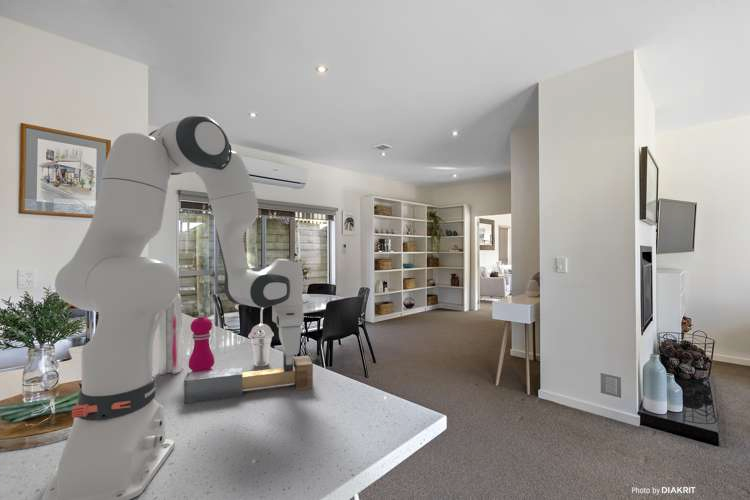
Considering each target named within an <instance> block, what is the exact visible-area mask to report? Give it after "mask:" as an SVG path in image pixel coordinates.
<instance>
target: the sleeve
mask: <svg viewBox="0 0 750 500" xmlns="http://www.w3.org/2000/svg"><path fill="white" fill-rule="evenodd" d="M242 372H243V366H239V367H229V368H220V369H213V370H209V371H200V372H192V371H191V372H187V374H186V376H185V378H184V381H183V404H184V405H186V404H194V403H195V404H196V403H200V402H208V401H218V400H224V399H232V398H240V397H243V390H242Z"/></svg>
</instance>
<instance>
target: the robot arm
mask: <svg viewBox="0 0 750 500" xmlns="http://www.w3.org/2000/svg"><path fill="white" fill-rule="evenodd" d="M185 173H195V174H196V175H197V176H198V177H199V178H200V179H201V180H202V182H203V184H204V186H205V190H206V193H207V198H208V199H209V205H210V206H211V207H210V208H211V211H212V214H213V217H214V222H215V229H216V237H217V242H218V247H219V251H220V255H221V260H222V263H223V264H222V265H223V269H224V285H223V286H224V287H223V289H224V293H225V296H226V298H227V299H228V300H229V301H230V303H233V304H235V305H237V306H239V305H240V306H249V307H255V308H259V309H261V308H264V309H266V308H271V307H272V308H271V310H272V311H271V317H272V319H271V320H272V322H273V323H275V324H276V327H277V328H278V337H279V341H280V343H281V346H282V351H283V350H284V353H285V355H286V357H285V360H286V361H285V362H286V365H291V364H292V358H293V357H294V356H296V355H298V354H299V353H300V345H301V333H302V332H301V331H302V328H301V327H302V326H304V299H303V292H304V273H303V267H302V264H301V263H300V262H299V261H298V260H295V259H291V258H276V259H274V261H273V262H272V263H271V264H269V265H268V266H267V267H265V268H263V269H260V270H259V271H254V270H253V269H252V268H251V267H250V266H249V263H248V259H247V258H248V257H247V255H246V250H245V249H246V248H245V246H244V245H245V244H244V236H245V233H246V231H247V230H248V229H249V228H250V227H251V226H252V225H253V224H254V223H255V221H256V220H257V218H258V216H259V203H258V198H257V195H256V191H255V188H254V184H253V182H252V179H251V177H250V174H249V172H248V169H247V167H246V165H245V163H244V161H243V158H242V157H241V156H240V154H238V153H237V152H236V151H233V150H232V145H231V144H230V141H229V139H228V136H227V134H226V132H225V131H224V129H223V128H222V126H221V125H220V124H219V123H218V122H217V121H215V119H212V118H211V117H209V116H204V115H190V116H186V117H185V118H182V119H179V120H175V121H171V122H168V123H166V124H164V125H162V126H161V127H159V128H158V129H155V130H153V131H151V132H150V133H149V134H148V135H147V134H144V133H141V132H139V133H138V132H127V133H123V134H121V135H119V136H117V138H115V140H114V141H113V143H112V146H111V148H110V150H109V152H108V155H107V157H106V160H105V163H104V166H103V170H102V175H101V178H100V183H99V188H98V191H97V197H96V203H95V205H94V206H95V207H94V212H93V216H92V218H91V222H90V224H89V227H88V229H87V231H86V233H85V235H84V237H83V239H82V241H81V242H80V245H79V246H78V248H77V250H76V252H75V253H74V255H73V256H72V258H71V259H70V261H68V262H67V263H66V264H65V265H63V267H61V269H60V270H59V271H58V273H57V274H56V277H55V281H54V287H55V291H56V294H57V295H58V297H59V298H61V300H62V301H64V302H65V303H67V304H69V305H70V306H73V307H75V308H78V309H79V310H82V311H88V312H98V313H97V314H98V319H97V324H96V327H95V330H94V333H93V335H92V337H91V339H90V340H89V341H88V342H87V343H85V344H84V346H83V347H82V349H81V353H80V354H81V355H80V358H81V359H80V361H81V368H80V369H81V389H80V390H79V392H78V396H77V397H78V399H77V401H76V404H75V405H74V406H73V407H72V410H71V417H72V419H73V423H72V426H71V428H70V432H69V434H68V436H67V440H66V442H65V445H64V448H63V451H62V454H61V456H60V459H59V461H58V463H57V465H56V468H55V470H54V471H53V474H52V476H51V478H50V480H49V483H48V484H47V486H46V489H45V491H44V492H43V495H42V497H41V499H40V500H132V499H134V498H135V497H138V496H140V495H141V494H142V493H143V491H144V490H145V489H146V487H147V486H148V485H149V483H150V482H151V480H152V479H153V478H154V476H155V475H156V473H157V472H159V471H158V470H159V469H160V468H161V467H162V465H163V463H164V462H166V460H167V458H168V457H169V455H170V454H171V452H173V450H174V449H175V447H176V444H175V441H174V439H170V438H166V437H167V436H166V422H165V419H166V418H165V408H164V406H163V405H162V404H160V403H159V402H158V401H157V400H156V398H155V397H156V387H157V385H156V384H157V383H156V380H155V377H154V376H153V349H154V347H153V346H154V339H155V334H156V330H157V327H158V322H159V320H160V318H161V316H162V314H163V313H164V312H165V311H166V310H167V309H168V308H169V307H170V306H171V305H172V304H173V303H174V301H175V300H176V298H177V296H178V294H180V293H179V292H180V286H181V285H180V283H181V282H180V278H179V275H178V273H177V271H176V269H175V268H173V266H171V265H169V263H165V262H163V261H161V260H158V259H154V258H151V257H146V256H141V255H142V253H143V251H144V250H145V248H146V246H147V244H149V242H150V241H151V240H152V239H153V238H154V237H156V236H157V235H158V233H160V231H161V228H162V223H163V217H164V213H165V212H164V211H165V206H166V200H167V198H166V197H167V194H168V187H169V184H168V183H169V180H170V177H171V176H177V175H182V174H185Z"/></svg>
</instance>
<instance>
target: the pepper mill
mask: <svg viewBox="0 0 750 500" xmlns="http://www.w3.org/2000/svg"><path fill="white" fill-rule="evenodd" d="M197 316H198V317H197V318H195V319H194V320H193V321H192V322H191V323H190V331H191V332H192V333H193V334H192V339H193V340H194V341H193V342H194V344H193V350H192V351H191V354H190V356H189V360H188V368H189V369H190V370H191V372H200V371H209V370H214V369H213V366H214V365H215V357H214V354H213V352H212V349H211V347H210V338H211V332H210V331H211V330H212V328H213V322H212V320H211V319H210V318H208V317H205V313H204V312H199V313H198V315H197Z"/></svg>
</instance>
